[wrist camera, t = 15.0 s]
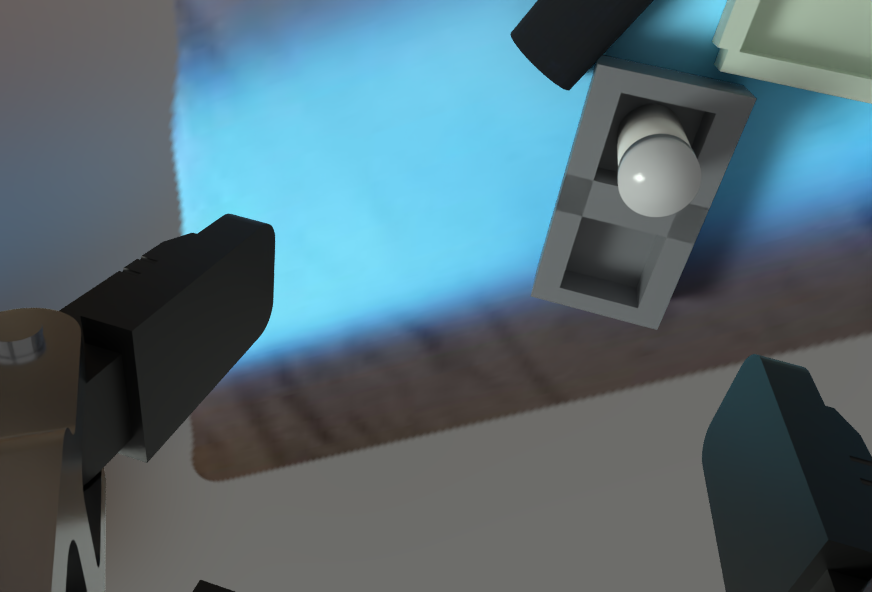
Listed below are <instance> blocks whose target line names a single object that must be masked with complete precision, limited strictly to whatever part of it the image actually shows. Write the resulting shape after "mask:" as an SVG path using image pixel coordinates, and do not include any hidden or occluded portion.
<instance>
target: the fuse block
mask: <svg viewBox="0 0 872 592" xmlns="http://www.w3.org/2000/svg"><path fill="white" fill-rule="evenodd" d="M755 101H756V98H755V97H754V96H753V95H752V93H751V92H750V91H749V90H748V89H747V88H746V87H745V86H744V85H740V84H735V83H731V82H726V81H721V80H717V79H712V78H708V77H703V76H698V75H694V74H689V73H684V72H680V71H675V70H670V69H666V68H661V67H656V66H652V65H647V64H642V63H638V62H633V61H628V60H624V59H619V58H615V57H610V56H605V55H602V56H601V57H600V58H599V59H598V60H597V62H596V65H595V69H594V72H593V76H592V79H591V83H590V86H589V90H588V93H587V97H586V100H585V104H584V107H583V110H582V114H581V117H580V121H579V124H578V128H577V131H576V135H575V138H574V142H573V145H572V149H571V152H570V156H569V159H568V163H567V166H566V170H565V173H564V177H563V180H562V184H561V187H560V191H559V194H558V198H557V201H556V204H555V208H554V211H553V215H552V218H551V222H550V225H549V229H548V232H547V236H546V239H545V243H544V246H543V250H542V253H541V257H540V260H539V264H538V267H537V271H536V275H535V280H534V284H533V289H532V293H531V296H532V297H536V298H539V299H543V300H547V301H551V302H554V303H558V304H562V305H566V306H569V307H573V308H577V309H581V310H584V311H588V312H592V313H596V314H600V315H603V316H607V317H611V318H615V319H618V320H622V321H626V322H630V323H633V324H637V325H641V326H645V327H648V328H652V329H656V330H657V329H658V327H659V325H660V322H661V320H662V318H663V315H664V313H665V311H666V308H667V306H668V304H669V301H670V299H671V297H672V294H673V292H674V290H675V287H676V285H677V283H678V280H679V278H680V276H681V273H682V271H683V269H684V266H685V264H686V262H687V259H688V257H689V255H690V252H691V250H692V248H693V245H694V243H695V241H696V238H697V236H698V234H699V231H700V229H701V227H702V224H703V222H704V220H705V218H706V215H707V213H708V211H709V208H710V206H711V204H712V201H713V199H714V197H715V194H716V192H717V190H718V187H719V185H720V183H721V180H722V178H723V176H724V173H725V171H726V169H727V166H728V164H729V162H730V159H731V157H732V155H733V152H734V150H735V148H736V145H737V143H738V141H739V138H740V136H741V134H742V131H743V129H744V127H745V124H746V122H747V120H748V118H749V115H750V113H751V111H752V108H753V106H754V104H755ZM648 104H657V105H662V106H665V107H667V108H669V109H670V110H672V111H673V112H674V113H675V114H676V115H677V117H678V118H679V120H680V122H681V125H682V127H683V129H684V132H685V134H686V137H687V139H688V141H689V144H690V146H691V148H692V150H693V151H694V153H695V155H696V158H697V160H698V162H699V165H700V168H701V183H700V187H699V190H698V192H697V194H696V196H695V197H694V199H693V200H692V201H691V202H690V203H689V204H688V205H687V206H686V207H684V208H683V209H682V210H680V211H678V212H676V213H674V214H671V215H668V216H663V217H649V216H644V215H641V214H639V213H636V212H635V211H633V210H632V209H630V208H629V207H628V206H627V205H626V204H625V202H624V201H623V199H622V197H621V195H620V193H619V189H618V155H617V132H618V128H619V126H620V124H621V122H622V120H623V119H624V118H625V116H626V115H627V114H628V113H630V112H631V111H632V110H634V109H636V108H638V107H640V106H643V105H648Z"/></svg>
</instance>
